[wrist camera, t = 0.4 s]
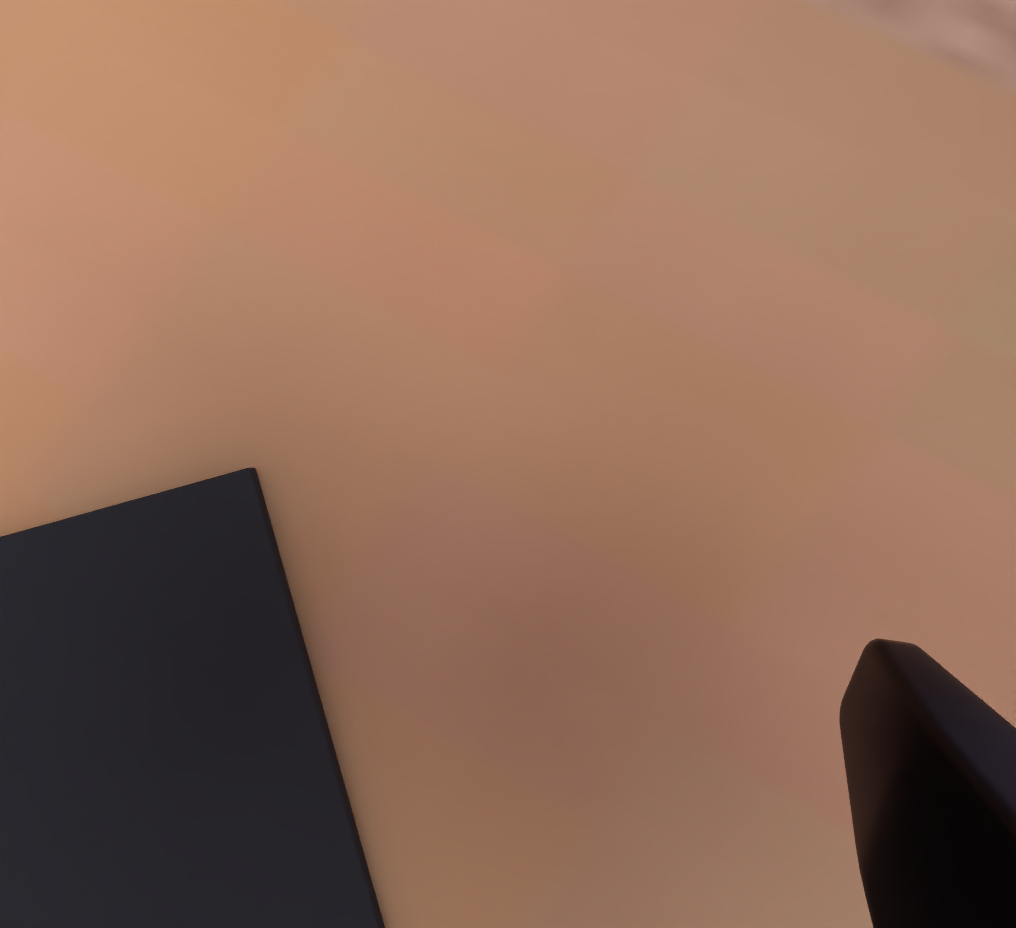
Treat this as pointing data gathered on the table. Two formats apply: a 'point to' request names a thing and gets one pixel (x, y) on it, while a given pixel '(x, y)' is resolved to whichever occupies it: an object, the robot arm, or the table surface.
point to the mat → (167, 727)
